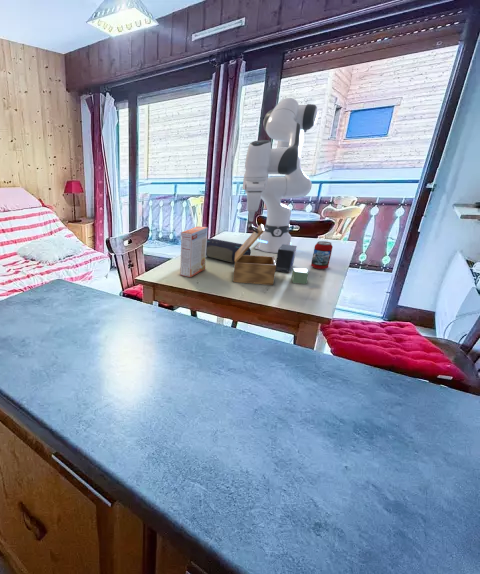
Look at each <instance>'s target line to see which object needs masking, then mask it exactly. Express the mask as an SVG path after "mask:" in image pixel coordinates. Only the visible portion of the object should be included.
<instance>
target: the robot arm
mask: <svg viewBox="0 0 480 574" xmlns="http://www.w3.org/2000/svg"><path fill="white" fill-rule="evenodd" d="M318 118H319V111H318V106H317V105H316V104H314V103H313V104H312V103H307V104H299V102H298V100H296V99H295V98H292V97H287V98H283V99H282V100H280V101H279V102H278V103H276V105H275V106H274V108H273V109H270V110H269V111H268V112H267V113H266V114H265V116H264V119H263V129H264V130H263V131H265V133H266V134H267V136H268V137H269V138H270V139H272V140H273V141H277V144H276V148H272V142H271V140H269V139H268V140H267V139H258V140H254V141H251V142H250V143H249V145H248V148H247V152H246V155H245V163H244V169H245V171H244V174H243V180H242V190H244V193H245V194H246V200H247V201H246V206H247V207H246V209H247V212H248V214H247V215H248V216H247V217H248V222H254V218H255V216H256V215H255V214H256V212H258V210H259V208H260V204H261V201H263V203H264V204H265V207H266V221H265V224H264V226H263V228H264V232H263V233H262V234H261V235H260V236H259V238H258V239H257V240H256V241H257V244H256V245H255V246H254V249H255V250H260V251H261V252H265V253H273V254H277V253H278V249H279V248H280V247H281V245H282V244H286V245H292V244H293V243H292V242H291V241H292V235H291V234H290V233H289V232H290V230H291V229H290V228H291V224H290V222H291V221H290V220H291V215H292V209H291V208H290V207H289V206H287V205H286V204H283V203H282V199H298V198H303V197H306V196H307V195H309V193H310V192H311V190H312V188H313V187H312V186H313V183H312V180H311V179H310V178H309V176H307V175H306V174H305V172H304V171H303V170H302V166H301V157H302V149H303V144H304V134H306V133H307V131H309V130H311V129H312V128H313V127H314V126H315V124H316V123H317V120H318ZM269 175H284V176H270V177H269Z"/></svg>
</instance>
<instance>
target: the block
mask: <svg viewBox="0 0 480 574" xmlns="http://www.w3.org/2000/svg"><path fill="white" fill-rule="evenodd" d="M309 273H310V272H309V271H308V269H307V268H298V267H292V272H291V278H290V279H291V282H292V284H299V285H300V284H303V285H307V282H308V278H309Z"/></svg>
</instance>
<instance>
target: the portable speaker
mask: <svg viewBox="0 0 480 574" xmlns="http://www.w3.org/2000/svg"><path fill="white" fill-rule="evenodd" d="M243 244H244V243H238V242H233V241H227V240H224V239H223V240H222V239H216V238H207V245H206V258H212V259H215V260H219V261H224V262H228V263H233V264H235V253H236V251H237V250H238V249H239V248H240V247H241V246H242V245H243ZM243 255H252V251H251V247H249V249H248V250H247V251H246V252H245V253H244V254H243Z"/></svg>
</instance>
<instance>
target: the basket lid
mask: <svg viewBox="0 0 480 574" xmlns="http://www.w3.org/2000/svg"><path fill="white" fill-rule="evenodd" d="M247 227H248V230H249V231H253V232H252V233H251V234H250V235H249V237H248V238H247V239H246V240H245V241H244V242H243V243H242V244H243V245H242V246H241V247H240V248H239V249H238V250H237V251H236V253H235V262H237V261H238V260H239V258H240V257H241V256H242V255H243V254H244V253H245V252H246V251H247V250H248V249H249V248H251V247H252V246H253V244H254V243H255V242H256V241H257V240H259V236H261V234H262V233H264V231H265V230H264V224H262V223H260V224H259V225H258V226H257V227H256V226H254V224H253V223H252V222H249V223H248V225H247Z"/></svg>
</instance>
